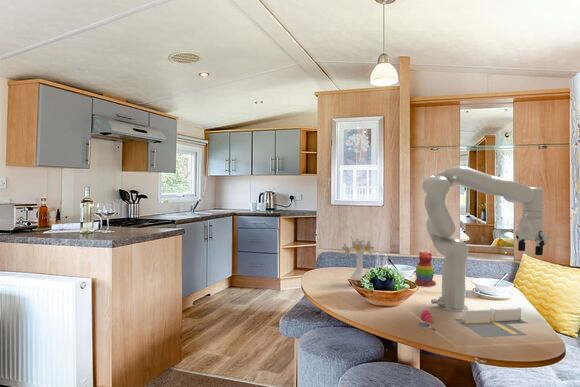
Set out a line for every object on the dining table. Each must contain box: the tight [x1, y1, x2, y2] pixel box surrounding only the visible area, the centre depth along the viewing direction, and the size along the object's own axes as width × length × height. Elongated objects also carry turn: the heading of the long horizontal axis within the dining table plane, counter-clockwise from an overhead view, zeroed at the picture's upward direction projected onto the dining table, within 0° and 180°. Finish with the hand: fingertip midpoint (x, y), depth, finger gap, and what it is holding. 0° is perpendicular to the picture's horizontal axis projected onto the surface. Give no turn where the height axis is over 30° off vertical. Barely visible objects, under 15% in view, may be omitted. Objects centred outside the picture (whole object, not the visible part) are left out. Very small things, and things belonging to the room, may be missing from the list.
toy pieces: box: [418, 309, 437, 332], centre depth 150 cm, size 12×11×4 cm
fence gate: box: [494, 307, 522, 321], centre depth 154 cm, size 12×1×5 cm, turn 99°
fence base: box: [454, 308, 529, 338], centre depth 148 cm, size 28×18×6 cm, turn 99°
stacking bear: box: [414, 251, 437, 287], centre depth 211 cm, size 11×10×18 cm
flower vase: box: [341, 238, 375, 281], centre depth 205 cm, size 13×18×25 cm
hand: (529, 252), depth 170 cm, fingers open, 9 cm apart
